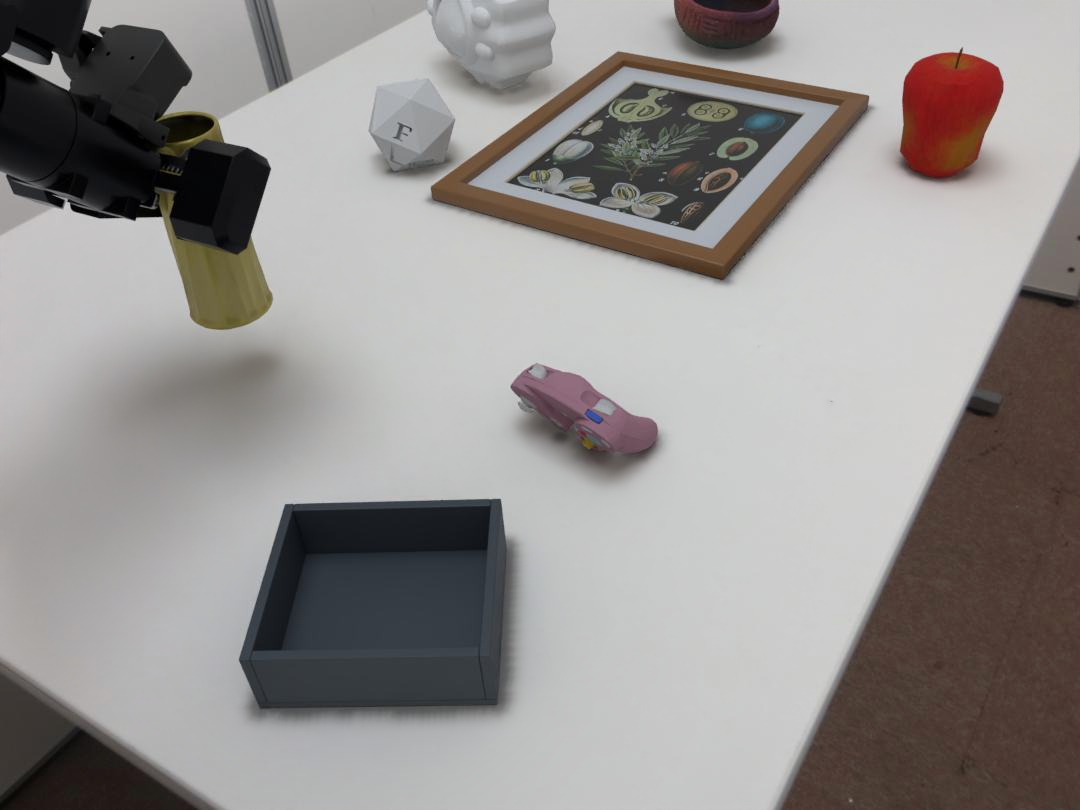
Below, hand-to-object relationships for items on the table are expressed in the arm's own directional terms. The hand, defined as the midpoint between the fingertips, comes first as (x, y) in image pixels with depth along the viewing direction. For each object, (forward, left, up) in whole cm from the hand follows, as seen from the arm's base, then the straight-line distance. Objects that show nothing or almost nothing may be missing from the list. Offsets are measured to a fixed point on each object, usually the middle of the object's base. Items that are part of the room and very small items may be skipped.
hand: (221, 216), depth 70 cm
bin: (-1, -29, -13) cm, 32 cm away
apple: (+66, -6, -13) cm, 68 cm away
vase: (-1, -1, -7) cm, 7 cm away
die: (+24, +25, -13) cm, 37 cm away
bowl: (+68, +33, -13) cm, 77 cm away
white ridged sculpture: (+40, +39, -13) cm, 57 cm away
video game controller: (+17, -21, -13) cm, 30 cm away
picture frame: (+46, +12, -13) cm, 49 cm away
